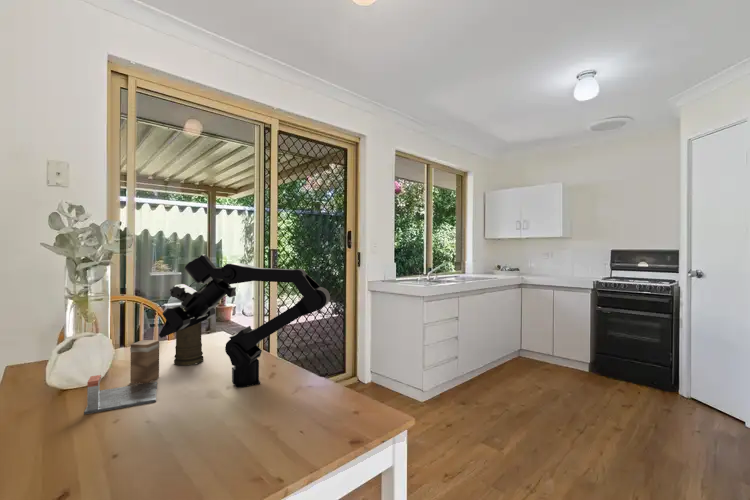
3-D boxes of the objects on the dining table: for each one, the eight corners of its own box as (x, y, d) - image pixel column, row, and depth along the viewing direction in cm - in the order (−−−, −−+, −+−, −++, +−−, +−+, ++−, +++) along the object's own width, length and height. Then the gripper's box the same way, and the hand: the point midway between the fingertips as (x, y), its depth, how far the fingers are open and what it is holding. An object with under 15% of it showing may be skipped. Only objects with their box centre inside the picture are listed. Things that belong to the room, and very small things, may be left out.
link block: (159, 377, 106) (159, 340, 107) (147, 383, 101) (147, 344, 101) (142, 376, 107) (143, 339, 107) (130, 383, 102) (130, 344, 102)
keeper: (156, 383, 101) (156, 358, 101) (155, 401, 89) (155, 372, 89) (94, 393, 94) (94, 366, 94) (84, 414, 82) (84, 383, 82)
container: (195, 366, 117) (195, 310, 117) (167, 366, 117) (168, 310, 117) (208, 357, 126) (208, 306, 126) (183, 357, 126) (183, 306, 126)
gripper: (207, 273, 112) (171, 306, 113) (171, 277, 93) (128, 318, 94) (231, 299, 112) (194, 333, 112) (199, 309, 93) (156, 349, 94)
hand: (170, 332), depth 103 cm, fingers open, 9 cm apart
